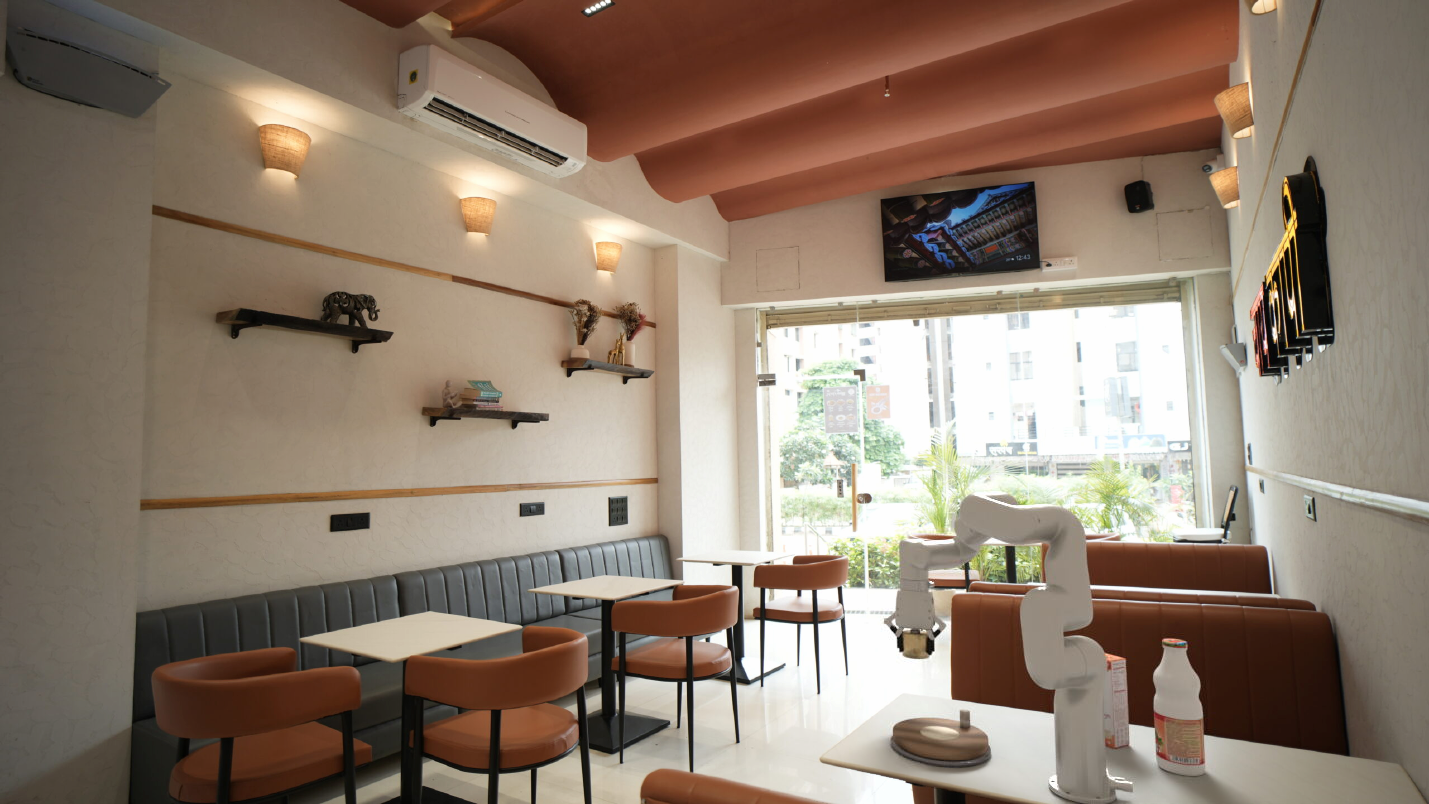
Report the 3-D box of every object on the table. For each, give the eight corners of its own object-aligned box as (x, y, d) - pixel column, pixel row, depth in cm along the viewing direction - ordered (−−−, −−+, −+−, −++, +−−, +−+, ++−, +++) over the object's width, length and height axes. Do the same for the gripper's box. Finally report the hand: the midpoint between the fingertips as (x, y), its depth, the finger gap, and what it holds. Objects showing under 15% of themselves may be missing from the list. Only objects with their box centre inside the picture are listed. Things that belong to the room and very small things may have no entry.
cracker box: (1064, 730, 190) (1061, 646, 192) (1080, 726, 193) (1077, 644, 194) (1113, 749, 178) (1110, 660, 179) (1130, 745, 180) (1127, 657, 182)
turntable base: (993, 738, 185) (993, 734, 185) (987, 774, 164) (987, 769, 164) (899, 725, 194) (899, 721, 194) (882, 757, 173) (882, 753, 173)
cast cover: (934, 656, 199) (934, 630, 200) (918, 660, 195) (917, 633, 195) (913, 650, 205) (913, 625, 205) (897, 654, 200) (896, 629, 201)
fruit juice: (1188, 780, 161) (1181, 647, 163) (1146, 764, 169) (1141, 638, 171) (1215, 772, 165) (1208, 643, 167) (1173, 756, 173) (1167, 634, 175)
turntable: (892, 722, 192) (891, 700, 193) (982, 729, 187) (981, 706, 188) (893, 755, 171) (892, 730, 171) (994, 763, 166) (994, 737, 166)
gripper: (949, 585, 201) (951, 652, 200) (884, 581, 208) (885, 646, 207) (946, 589, 194) (948, 659, 193) (879, 585, 201) (880, 652, 200)
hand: (915, 652), depth 200 cm, fingers closed on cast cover, 7 cm apart
